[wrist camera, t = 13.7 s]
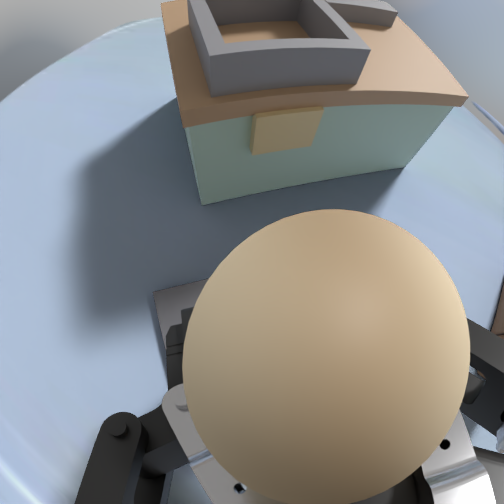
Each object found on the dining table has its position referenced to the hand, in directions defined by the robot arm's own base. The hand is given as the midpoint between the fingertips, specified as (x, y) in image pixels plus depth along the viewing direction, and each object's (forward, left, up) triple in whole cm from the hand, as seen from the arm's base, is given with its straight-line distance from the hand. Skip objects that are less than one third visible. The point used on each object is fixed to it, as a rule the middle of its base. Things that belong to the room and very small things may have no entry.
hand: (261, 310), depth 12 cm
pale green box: (+8, +15, -8) cm, 19 cm away
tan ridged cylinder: (0, -2, -6) cm, 7 cm away
